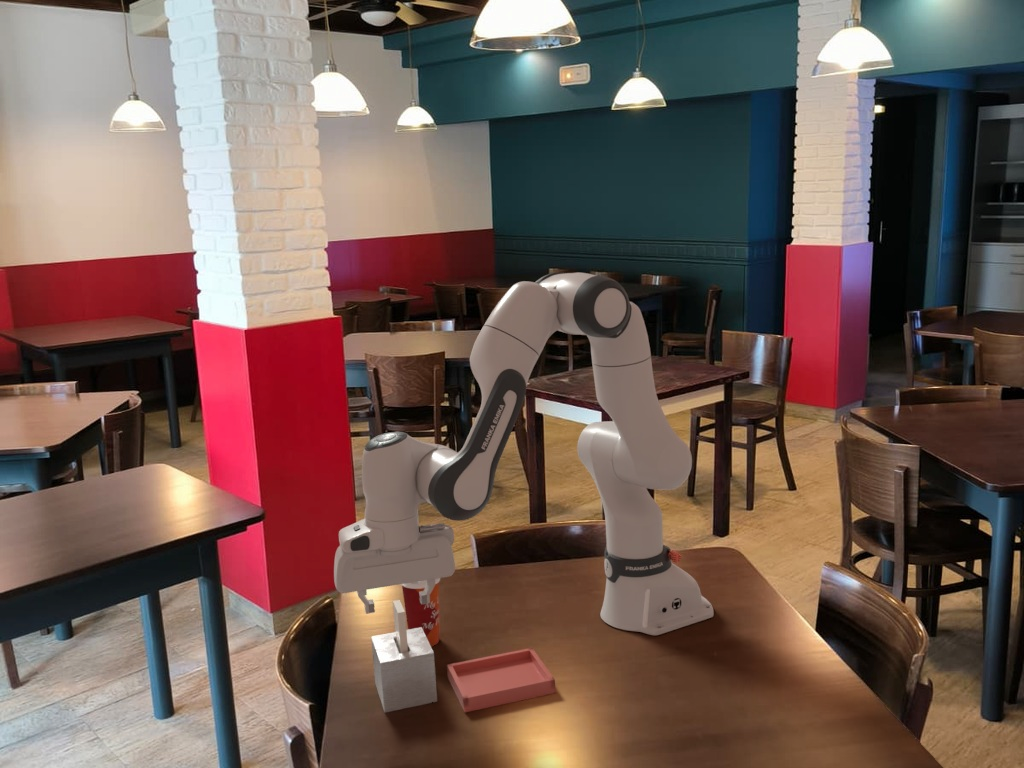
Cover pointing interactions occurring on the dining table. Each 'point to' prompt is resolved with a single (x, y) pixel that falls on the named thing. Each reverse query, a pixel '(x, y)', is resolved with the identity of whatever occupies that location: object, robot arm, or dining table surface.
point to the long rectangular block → (400, 627)
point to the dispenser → (404, 671)
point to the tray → (500, 679)
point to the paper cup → (422, 609)
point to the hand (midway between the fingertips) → (397, 607)
